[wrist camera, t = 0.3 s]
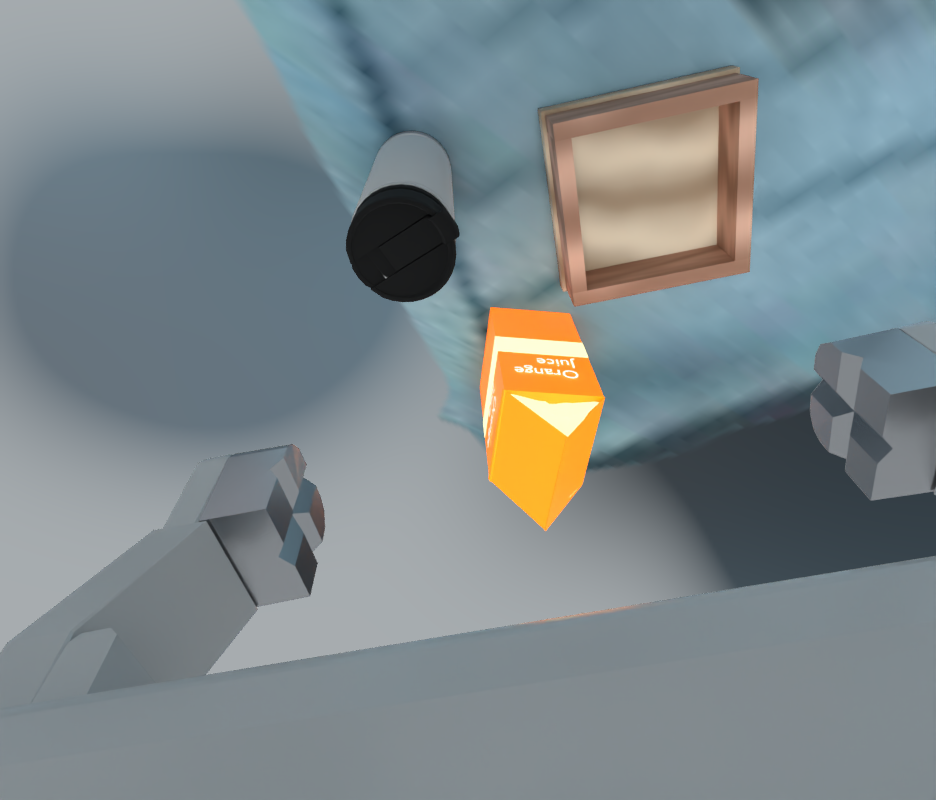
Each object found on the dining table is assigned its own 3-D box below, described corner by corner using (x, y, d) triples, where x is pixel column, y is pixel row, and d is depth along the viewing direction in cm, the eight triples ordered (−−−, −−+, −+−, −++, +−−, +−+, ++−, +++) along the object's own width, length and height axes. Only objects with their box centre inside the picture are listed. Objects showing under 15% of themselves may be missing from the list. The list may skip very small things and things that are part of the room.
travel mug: (469, 180, 52) (484, 268, 35) (404, 223, 54) (388, 328, 37) (426, 111, 49) (419, 171, 32) (358, 159, 51) (318, 240, 34)
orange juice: (478, 387, 63) (492, 530, 46) (489, 306, 58) (509, 432, 41) (555, 392, 63) (597, 535, 47) (572, 312, 59) (625, 439, 42)
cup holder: (537, 108, 49) (548, 120, 45) (731, 65, 48) (763, 72, 43) (560, 285, 57) (571, 310, 53) (727, 251, 56) (753, 274, 51)
